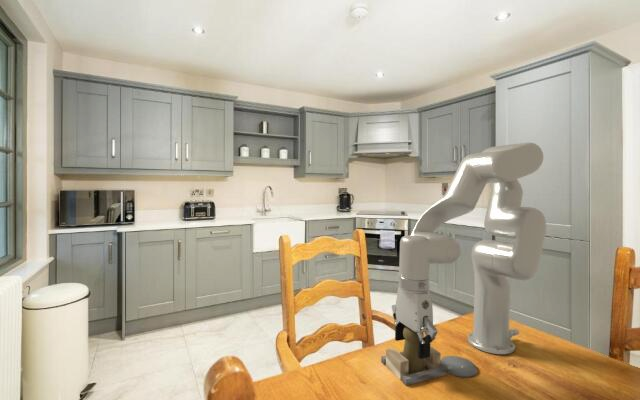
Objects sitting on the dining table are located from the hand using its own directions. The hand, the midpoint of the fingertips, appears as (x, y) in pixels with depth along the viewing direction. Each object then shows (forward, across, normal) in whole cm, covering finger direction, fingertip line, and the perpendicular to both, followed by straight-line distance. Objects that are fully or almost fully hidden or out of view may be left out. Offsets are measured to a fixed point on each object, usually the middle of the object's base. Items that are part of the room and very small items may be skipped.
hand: (411, 348), depth 83 cm
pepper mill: (+6, 0, -1) cm, 6 cm away
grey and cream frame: (+6, 0, -1) cm, 6 cm away
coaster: (+5, -4, -12) cm, 14 cm away
